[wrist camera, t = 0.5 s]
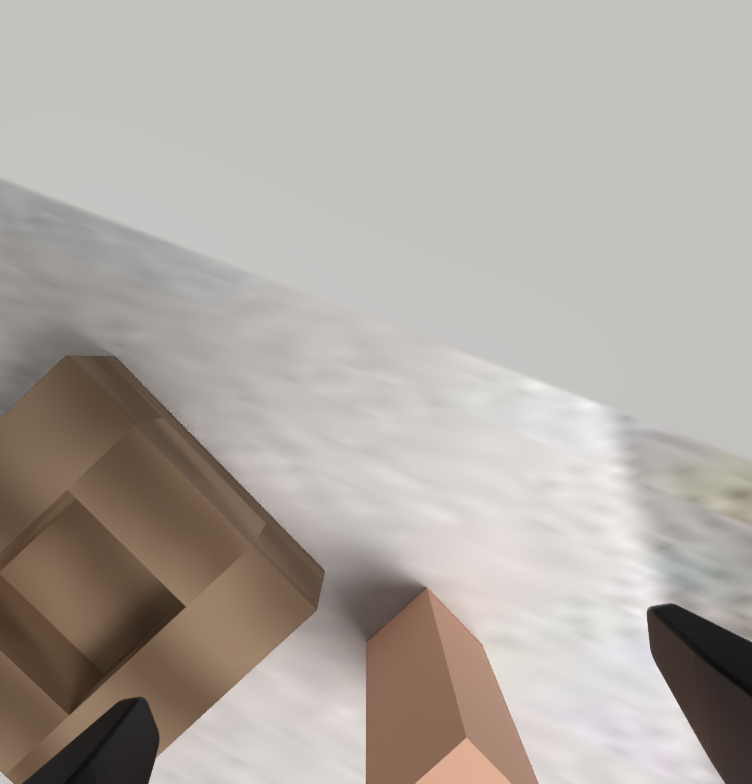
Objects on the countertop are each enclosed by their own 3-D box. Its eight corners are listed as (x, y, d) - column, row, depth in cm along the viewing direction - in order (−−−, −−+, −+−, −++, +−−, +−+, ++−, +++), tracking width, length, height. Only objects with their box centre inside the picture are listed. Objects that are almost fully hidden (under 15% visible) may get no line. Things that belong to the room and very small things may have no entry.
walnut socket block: (115, 763, 23) (70, 836, 19) (-98, 560, 22) (-187, 598, 18) (324, 570, 22) (316, 609, 19) (114, 356, 21) (65, 355, 18)
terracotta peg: (422, 699, 23) (457, 917, 14) (366, 642, 23) (366, 827, 14) (482, 645, 23) (557, 830, 14) (426, 587, 22) (466, 737, 14)
